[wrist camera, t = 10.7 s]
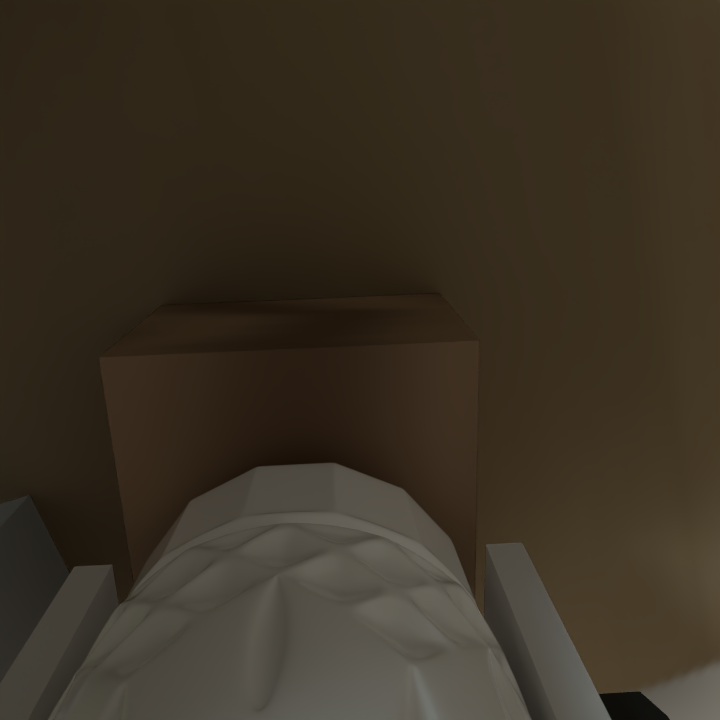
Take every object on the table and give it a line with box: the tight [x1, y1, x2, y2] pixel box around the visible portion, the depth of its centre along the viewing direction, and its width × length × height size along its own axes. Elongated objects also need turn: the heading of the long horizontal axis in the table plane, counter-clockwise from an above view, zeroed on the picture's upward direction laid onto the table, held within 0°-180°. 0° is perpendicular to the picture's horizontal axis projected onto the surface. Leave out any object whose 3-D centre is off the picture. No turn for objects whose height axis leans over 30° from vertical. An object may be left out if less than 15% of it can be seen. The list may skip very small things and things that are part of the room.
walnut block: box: [99, 293, 480, 599], centre depth 17 cm, size 8×11×5 cm
